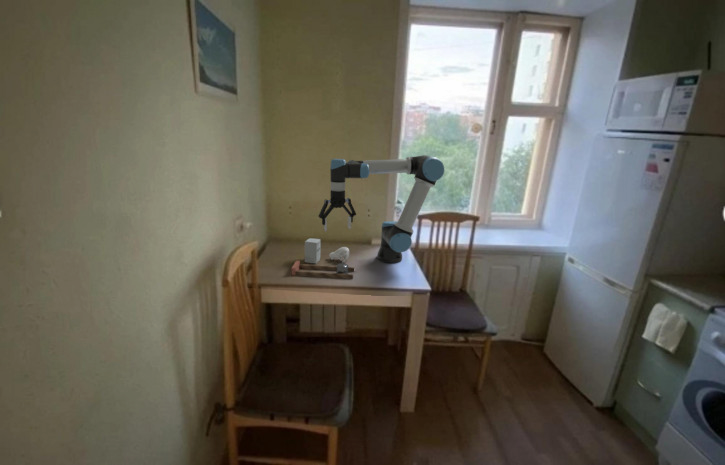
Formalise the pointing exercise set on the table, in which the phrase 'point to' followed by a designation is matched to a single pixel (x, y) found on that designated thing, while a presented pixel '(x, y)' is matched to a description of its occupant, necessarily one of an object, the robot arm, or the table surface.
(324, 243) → the table surface
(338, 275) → the guide rails
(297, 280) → the table surface
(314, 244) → the supplement box
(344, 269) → the cylinder
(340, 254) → the white figurine
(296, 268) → the stop block
